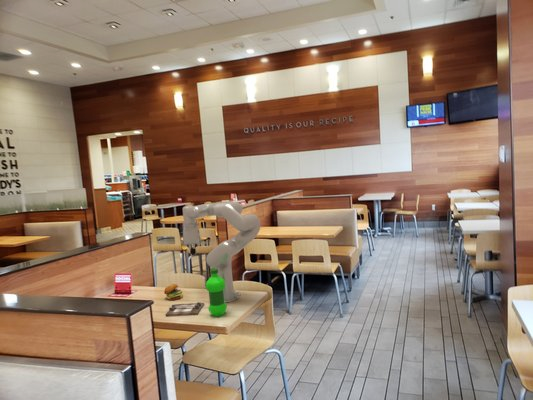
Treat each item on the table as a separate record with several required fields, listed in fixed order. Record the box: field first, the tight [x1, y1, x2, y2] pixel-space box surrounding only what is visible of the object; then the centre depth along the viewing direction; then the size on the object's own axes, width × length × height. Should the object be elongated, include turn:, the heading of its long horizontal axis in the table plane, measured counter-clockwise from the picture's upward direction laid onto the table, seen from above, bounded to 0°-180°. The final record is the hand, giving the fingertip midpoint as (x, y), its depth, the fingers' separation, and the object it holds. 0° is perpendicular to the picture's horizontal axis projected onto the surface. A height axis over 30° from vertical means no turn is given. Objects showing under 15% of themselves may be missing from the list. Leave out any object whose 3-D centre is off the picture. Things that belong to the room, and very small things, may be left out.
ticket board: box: [164, 301, 205, 318], centre depth 222 cm, size 18×16×3 cm
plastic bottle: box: [205, 268, 228, 317], centre depth 211 cm, size 10×10×25 cm
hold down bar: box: [171, 305, 195, 308], centre depth 222 cm, size 15×2×1 cm, turn 85°
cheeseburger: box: [164, 283, 184, 301], centre depth 246 cm, size 10×11×10 cm
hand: (193, 254), depth 243 cm, fingers closed
